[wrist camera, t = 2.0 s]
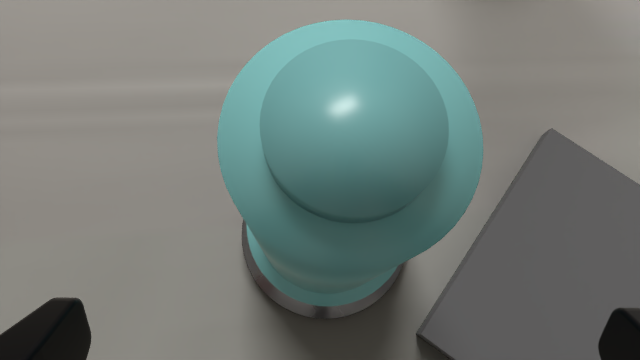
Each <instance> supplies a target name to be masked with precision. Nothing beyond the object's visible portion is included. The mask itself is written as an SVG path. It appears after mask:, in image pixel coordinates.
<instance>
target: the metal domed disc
mask: <svg viewBox="0 0 640 360" xmlns="http://www.w3.org/2000/svg"><path fill="white" fill-rule="evenodd" d="M242 246H243V251H244V256H245V259H246V262H247V266H248V268H249V270H250V272H251V274H252V276H253V278H254V279H255V281H256V282H257V284H258V285H259V286H260V288H261V289H262V290H263V291H264V292H265V293H266V294H267V295H268V296H269V297H270V298H271V299H272V300H274V301H275V302H276V303H278V304H279V305H281V306H282V307H284V308H286V309H288V310H290V311H292V312H294V313H297V314H300V315H303V316H307V317H313V318H326V319H328V318H339V317H343V316H347V315H351V314H354V313H356V312H359V311H361V310H363V309H365V308H367V307H368V306H370V305H372V304H373V303H374V302H376V301H377V300H378V299H380V298H381V297H382V296H383V295H384V294H385V293H386V292H387V291H388V289H389V288H390V287H391V285H392V284H393V283H394V281H395V280H396V278H397V276H398V274H399V273H400V270H401V268H402V265H403V263H402V264H400V265H398V267H397V268H396V270H395V272H394V273H393V274H392V275H391V277H390V278H389V279H388V280H387V281H386V282H385V283H384V284H383V285H382V286H381V287H380V288H379V289H377V290H376V291H375V292H373V293H372V294H370V295H368V296H366V297H365V298H363V299H360V300H358V301H355V302H352V303H349V304H344V305H340V306H330V307H329V306H315V305H310V304H306V303H303V302H300V301H297V300H295V299H293V298H291V297H289V296H287V295H286V294H284V293H283V292H281V291H280V290H278V289H277V288H276V287H275V286H274V285H273V284H271V282H270V281H269V280H268V279H267V278H266V277H265V276H264V275H263V273H262V272H261V270H260V269H259V267H258V266H257V264H256V262H255V260H254V258H253V256H252V253H251V250H250V247H249V242H248V237H247V224H246V222H245V220H244V219H243V225H242Z"/></svg>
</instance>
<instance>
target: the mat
mask: <svg viewBox="0 0 640 360" xmlns="http://www.w3.org/2000/svg"><path fill="white" fill-rule="evenodd" d="M620 307H623V308H640V185H639V184H638V183H636V182H635V181H633V180H631V179H630V178H628V177H627V176H625V175H624V174H622V173H621V172H619V171H617V170H616V169H614V168H613V167H611V166H610V165H608V164H606V163H605V162H603V161H602V160H600V159H599V158H597V157H596V156H594V155H592V154H591V153H589V152H588V151H586V150H585V149H583V148H582V147H580V146H578V145H577V144H575V143H574V142H572V141H571V140H569V139H568V138H566V137H564V136H563V135H561V134H560V133H558V132H557V131H555V130H553V129H552V128H551V129H550V130H548V131H547V132H546V133H544V134H543V135H542V136H541V138H540V139H539V141H538V142H537V144H536V146H535V147H534V149H533V150H532V152H531V153H530V155H529V157H528V158H527V160H526V161H525V163H524V164H523V166H522V168H521V169H520V171H519V172H518V174H517V175H516V177H515V179H514V180H513V182H512V183H511V185H510V186H509V188H508V190H507V191H506V193H505V194H504V196H503V197H502V199H501V201H500V202H499V204H498V205H497V207H496V208H495V210H494V212H493V213H492V215H491V216H490V218H489V219H488V221H487V223H486V224H485V226H484V227H483V229H482V231H481V232H480V234H479V235H478V237H477V238H476V240H475V242H474V243H473V245H472V246H471V248H470V249H469V251H468V253H467V254H466V256H465V257H464V259H463V260H462V262H461V264H460V265H459V267H458V268H457V270H456V271H455V273H454V275H453V276H452V278H451V279H450V281H449V282H448V284H447V286H446V287H445V289H444V290H443V292H442V293H441V295H440V297H439V298H438V300H437V301H436V303H435V304H434V306H433V308H432V309H431V311H430V312H429V314H428V315H427V317H426V319H425V320H424V322H423V323H422V325H421V326H420V328H419V330H418V331H417V333H416V334H417V335H419V336H420V337H421V338H423V339H424V340H426V341H427V342H428V343H430V344H431V345H432V346H434V347H435V348H436V349H438V350H439V351H441V352H442V353H443V354H445V355H446V356H447V357H449V358H450V359H451V360H601V358H600V355H599V350H598V343H599V339H600V336H601V334H602V332H603V330H604V328H605V326H606V323H607V321H608V319H609V317H610V315H611V313H612V311H613V310H615V309H616V308H620Z"/></svg>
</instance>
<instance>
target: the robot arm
mask: <svg viewBox="0 0 640 360" xmlns="http://www.w3.org/2000/svg"><path fill="white" fill-rule="evenodd" d="M90 344H91V331H90V327H89V324H88V320H87V317H86V313H85V310H84V306H83V303H82V301H81V300H80V299H78V298H53V299H51V300H49V301H48V302H46V303H45V304H43V305H42V306H41V307H39V308H38V309H36V310H35V311H33V312H32V313H31V314H29V315H28V316H26V317H25V318H23V319H22V320H21V321H19V322H18V323H16V324H15V325H13V326H12V327H11V328H9V329H8V330H6V331H5V332H4V333H2V334H1V335H0V360H86V358H87V355H88V352H89V348H90ZM598 350H599V355H600V358H601V360H640V308H623V307H620V308H616V309H615V310H613V311H612V313H611V315H610V317H609V319H608V321H607V323H606V326H605V328H604V330H603V332H602V334H601V336H600V339H599V343H598Z"/></svg>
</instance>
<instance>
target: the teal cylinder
mask: <svg viewBox="0 0 640 360" xmlns="http://www.w3.org/2000/svg"><path fill="white" fill-rule="evenodd" d="M217 142H218V157H219V163H220V168H221V172H222V175H223V178H224V182H225V185H226V187H227V189H228V192H229V194H230V196H231V198H232V200H233V202H234V204H235V205H236V207H237V209H238V210H239V212H240V214H241V215H242V217H243V219H244V220H245V222H246V224H247V237H248V242H249V247H250V250H251V253H252V256H253V258H254V260H255V262H256V264H257V266H258V267H259V269H260V270H261V272H262V273H263V275H264V276H265V277H266V278H267V279H268V280H269V281H270V282H271V284H273V285H274V286H275V287H276V288H277V289H278V290H280V291H281V292H283V293H284V294H286V295H287V296H289V297H291V298H293V299H295V300H297V301H300V302H303V303H306V304H310V305H315V306H329V307H330V306H340V305H344V304H349V303H352V302H355V301H358V300H360V299H363V298H365V297H366V296H368V295H370V294H372V293H373V292H375V291H376V290H377V289H379V288H380V287H381V286H382V285H383V284H384V283H385V282H386V281H387V280H388V279H389V278H390V277H391V275H392V274H393V273H394V272H395V270H396V268H397V267H398V265H400V264H402V263H404V262H405V261H407V260H409V259H411V258H413V257H415V256H416V255H418V254H420V253H422V252H424V251H426V250H427V249H429V248H430V247H431V246H433V245H434V244H435V243H437V242H438V241H440V240H441V239H442V238H443V237H444V236H445V235H446V234H447V233H448V232H449V231H450V230H451V229H452V228H453V227H454V226H455V225H456V223H457V222H458V221H459V219H460V218H461V217H462V215H463V214H464V213H465V211H466V209H467V207H468V205H469V204H470V202H471V200H472V198H473V195H474V193H475V190H476V188H477V185H478V182H479V178H480V173H481V169H482V160H483V136H482V130H481V124H480V119H479V116H478V113H477V110H476V107H475V104H474V102H473V100H472V97H471V95H470V93H469V91H468V89H467V88H466V86H465V84H464V83H463V81H462V80H461V78H460V77H459V75H458V74H457V73H456V72H455V70H454V69H453V68H452V67H451V66H450V65H449V63H448V62H447V61H446V60H444V59H443V58H442V57H441V56H440V55H439V54H438V53H437V52H436V51H434V50H433V49H432V48H430V47H429V46H428V45H426V44H425V43H423V42H422V41H420V40H418V39H417V38H415V37H413V36H411V35H409V34H407V33H405V32H403V31H400V30H398V29H395V28H393V27H389V26H386V25H382V24H379V23H374V22H368V21H361V20H332V21H325V22H319V23H314V24H310V25H307V26H304V27H301V28H298V29H295V30H293V31H291V32H289V33H286V34H284V35H282V36H281V37H279V38H277V39H276V40H274V41H272V42H271V43H269V44H268V45H267V46H265V47H264V48H263V49H262V50H260V51H259V52H258V53H257V54H256V55H255V56H254V57H253V58H252V59H251V60H250V61H249V62H248V63H247V64H246V65H245V66H244V68H243V69H242V70H241V72H240V73H239V74H238V76H237V77H236V79H235V81H234V82H233V84H232V86H231V88H230V89H229V91H228V94H227V96H226V99H225V101H224V104H223V107H222V111H221V115H220V119H219V126H218V136H217Z"/></svg>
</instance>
